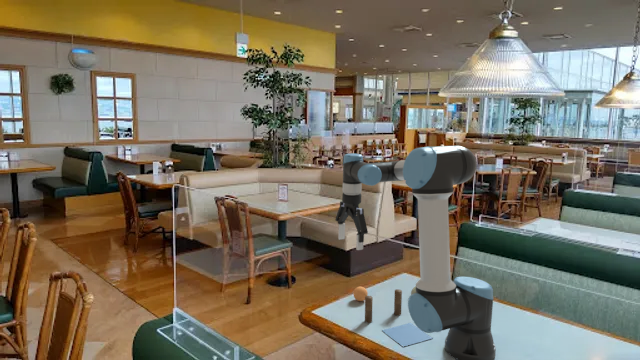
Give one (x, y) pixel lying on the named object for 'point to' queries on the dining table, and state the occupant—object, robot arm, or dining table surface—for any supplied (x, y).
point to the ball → (360, 293)
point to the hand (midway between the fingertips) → (350, 244)
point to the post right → (397, 302)
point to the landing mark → (407, 334)
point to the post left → (368, 309)
